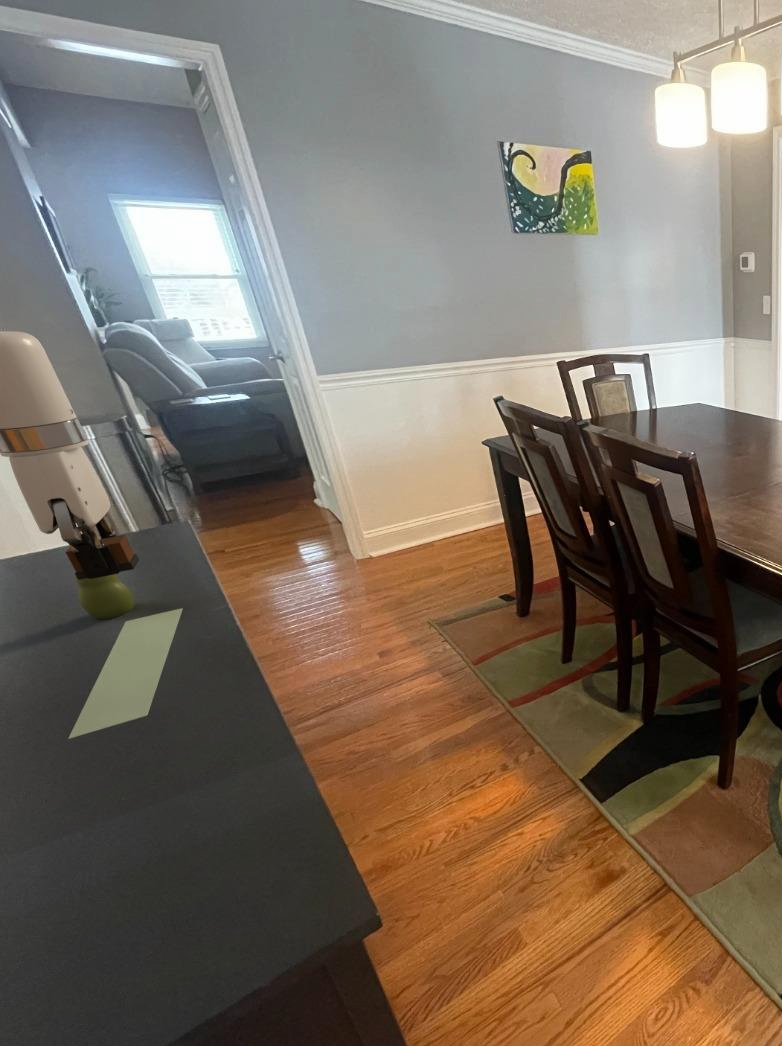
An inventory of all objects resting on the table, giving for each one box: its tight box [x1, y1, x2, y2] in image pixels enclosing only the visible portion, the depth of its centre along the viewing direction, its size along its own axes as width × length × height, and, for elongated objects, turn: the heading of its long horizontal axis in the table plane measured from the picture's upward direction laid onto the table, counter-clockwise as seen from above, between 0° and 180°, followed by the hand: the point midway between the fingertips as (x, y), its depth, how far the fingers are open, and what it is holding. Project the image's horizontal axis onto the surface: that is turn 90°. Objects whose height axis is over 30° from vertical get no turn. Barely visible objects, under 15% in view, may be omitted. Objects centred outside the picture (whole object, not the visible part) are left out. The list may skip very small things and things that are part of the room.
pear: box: [74, 574, 135, 620], centre depth 93 cm, size 6×5×10 cm
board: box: [68, 607, 184, 740], centre depth 82 cm, size 7×32×1 cm, turn 35°
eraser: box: [65, 534, 140, 580], centre depth 80 cm, size 6×4×4 cm, turn 124°
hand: (108, 568), depth 81 cm, fingers closed on eraser, 3 cm apart
